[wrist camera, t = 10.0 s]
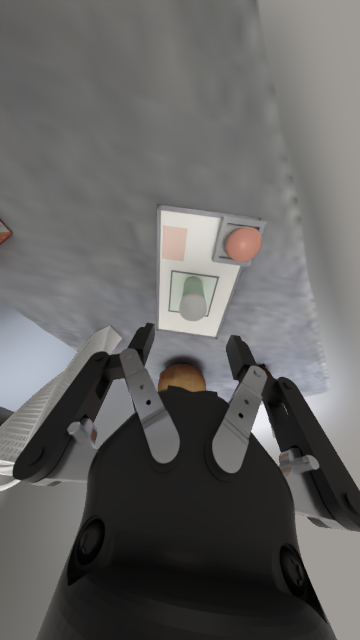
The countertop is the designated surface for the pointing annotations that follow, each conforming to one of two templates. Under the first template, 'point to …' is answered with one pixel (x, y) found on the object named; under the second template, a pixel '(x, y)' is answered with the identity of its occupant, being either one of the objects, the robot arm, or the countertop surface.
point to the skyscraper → (46, 402)
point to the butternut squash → (182, 378)
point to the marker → (193, 300)
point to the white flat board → (196, 266)
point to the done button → (243, 244)
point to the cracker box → (4, 232)
